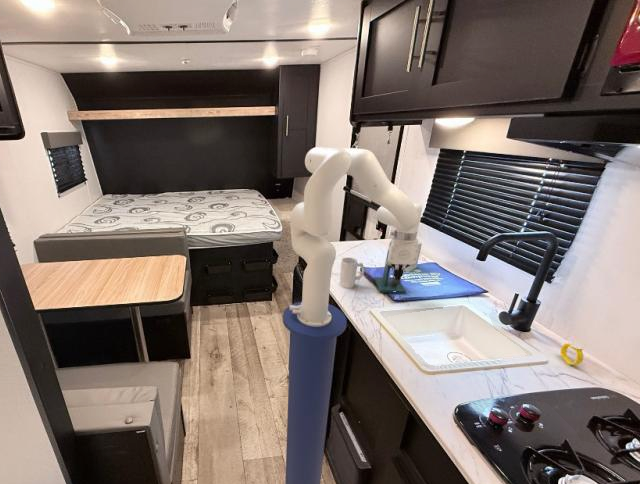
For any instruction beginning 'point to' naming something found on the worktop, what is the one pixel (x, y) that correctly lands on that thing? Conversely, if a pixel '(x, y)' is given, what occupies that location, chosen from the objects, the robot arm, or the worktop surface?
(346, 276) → the mug
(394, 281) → the toaster lever
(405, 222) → the robot arm
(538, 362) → the worktop surface
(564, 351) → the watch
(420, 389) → the worktop surface
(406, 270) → the small box
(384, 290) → the toaster bracket
